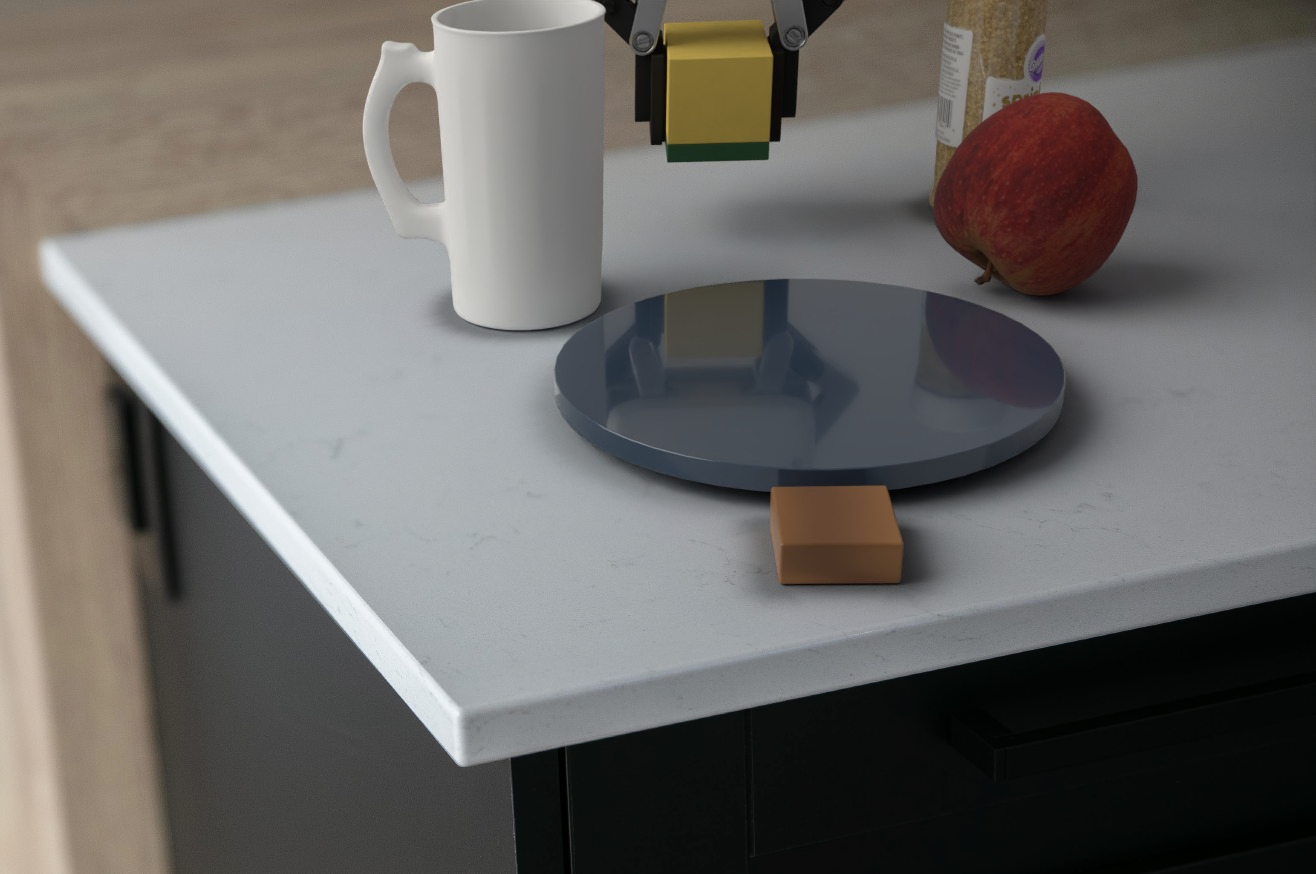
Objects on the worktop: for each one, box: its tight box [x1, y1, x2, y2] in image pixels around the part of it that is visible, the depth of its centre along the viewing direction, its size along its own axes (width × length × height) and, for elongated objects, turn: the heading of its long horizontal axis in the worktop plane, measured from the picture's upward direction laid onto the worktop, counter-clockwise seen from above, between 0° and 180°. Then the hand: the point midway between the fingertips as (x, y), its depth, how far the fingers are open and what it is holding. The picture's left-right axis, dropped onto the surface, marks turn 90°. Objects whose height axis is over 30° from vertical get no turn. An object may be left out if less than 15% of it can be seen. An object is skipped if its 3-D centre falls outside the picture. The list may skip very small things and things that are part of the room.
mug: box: [362, 0, 606, 331], centre depth 76 cm, size 10×7×12 cm, turn 74°
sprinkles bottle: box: [928, 0, 1049, 208], centre depth 83 cm, size 5×5×14 cm
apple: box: [932, 91, 1139, 296], centre depth 74 cm, size 7×8×8 cm
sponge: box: [663, 19, 773, 164], centre depth 83 cm, size 7×4×4 cm, turn 174°
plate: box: [553, 278, 1066, 493], centre depth 68 cm, size 18×18×2 cm
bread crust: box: [769, 486, 905, 585], centre depth 57 cm, size 4×4×1 cm
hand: (713, 131), depth 84 cm, fingers closed on sponge, 4 cm apart
